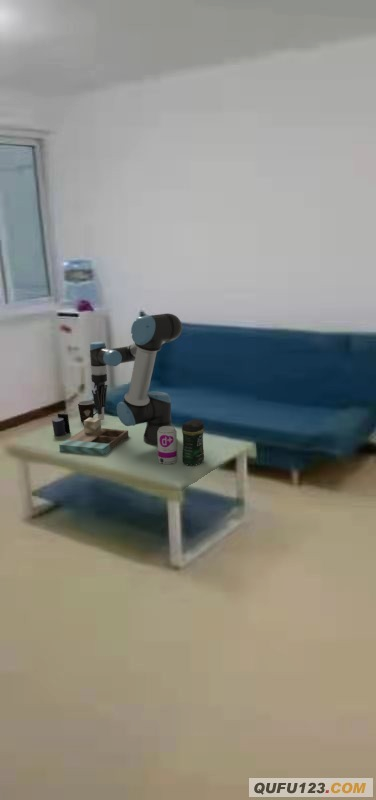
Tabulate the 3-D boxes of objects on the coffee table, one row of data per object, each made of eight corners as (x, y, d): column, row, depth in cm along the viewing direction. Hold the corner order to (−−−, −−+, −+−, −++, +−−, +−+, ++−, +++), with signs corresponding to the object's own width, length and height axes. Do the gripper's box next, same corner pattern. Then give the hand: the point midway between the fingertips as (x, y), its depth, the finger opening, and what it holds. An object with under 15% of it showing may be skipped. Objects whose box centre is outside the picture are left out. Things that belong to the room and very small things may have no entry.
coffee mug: (76, 422, 328) (75, 404, 326) (81, 418, 337) (80, 400, 334) (97, 423, 326) (96, 405, 324) (102, 419, 335) (101, 400, 332)
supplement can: (175, 465, 265) (174, 431, 261) (156, 464, 267) (155, 430, 263) (178, 458, 273) (178, 425, 269) (160, 457, 274) (159, 425, 271)
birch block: (101, 430, 305) (100, 418, 304) (95, 433, 300) (95, 421, 298) (90, 429, 307) (89, 417, 306) (84, 432, 302) (83, 420, 300)
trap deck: (128, 436, 305) (128, 430, 304) (103, 455, 279) (103, 448, 278) (87, 432, 312) (87, 427, 311) (59, 450, 286) (59, 444, 285)
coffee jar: (195, 467, 262) (194, 425, 258) (179, 464, 267) (178, 422, 262) (207, 460, 270) (206, 419, 265) (192, 457, 274) (191, 416, 270)
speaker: (62, 430, 315) (60, 411, 311) (70, 432, 312) (68, 413, 308) (51, 436, 309) (49, 416, 305) (59, 438, 306) (57, 418, 302)
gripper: (97, 370, 313) (100, 415, 319) (85, 376, 301) (88, 422, 307) (111, 371, 311) (113, 416, 317) (100, 377, 299) (102, 424, 305)
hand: (101, 419), depth 312 cm, fingers closed
